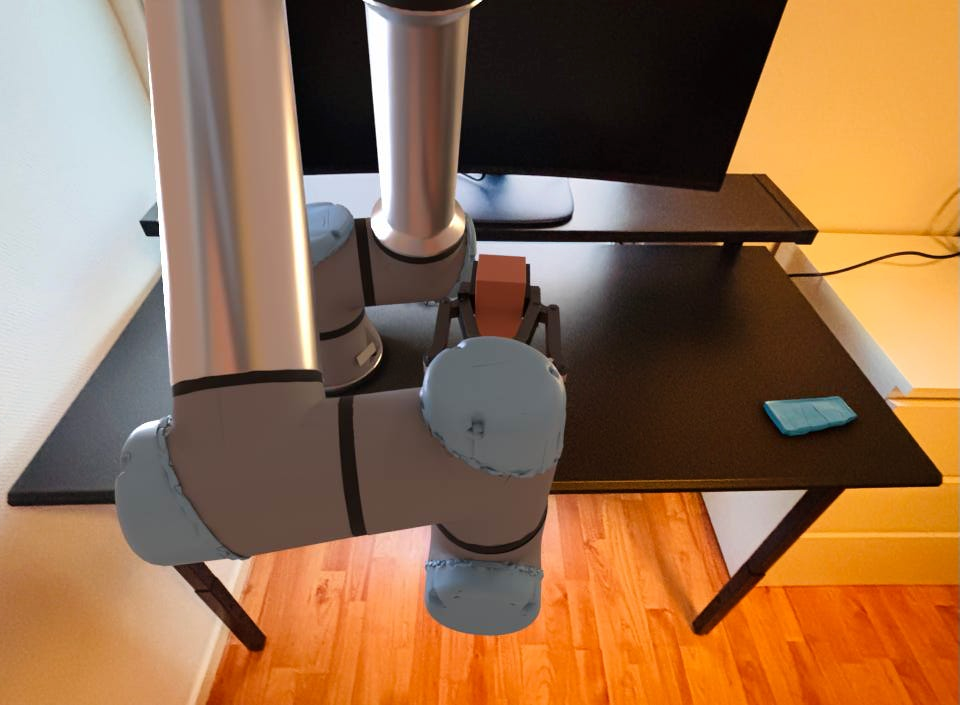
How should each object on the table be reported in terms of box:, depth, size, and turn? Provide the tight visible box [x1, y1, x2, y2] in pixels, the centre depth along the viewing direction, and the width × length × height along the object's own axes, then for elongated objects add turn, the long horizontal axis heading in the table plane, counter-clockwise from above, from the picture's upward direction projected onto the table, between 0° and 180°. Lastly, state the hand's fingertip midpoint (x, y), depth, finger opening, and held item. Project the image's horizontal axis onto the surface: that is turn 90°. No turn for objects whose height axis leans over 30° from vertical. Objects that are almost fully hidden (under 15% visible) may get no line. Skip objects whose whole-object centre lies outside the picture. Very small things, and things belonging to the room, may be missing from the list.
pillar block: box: [474, 253, 527, 339], centre depth 58 cm, size 5×5×10 cm
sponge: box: [763, 396, 858, 437], centre depth 74 cm, size 2×12×6 cm
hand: (500, 272), depth 61 cm, fingers closed on pillar block, 5 cm apart
